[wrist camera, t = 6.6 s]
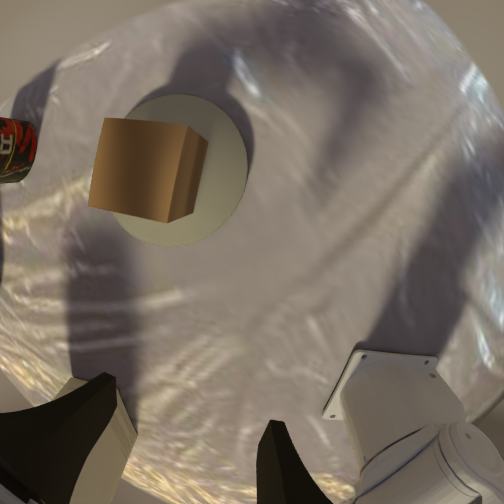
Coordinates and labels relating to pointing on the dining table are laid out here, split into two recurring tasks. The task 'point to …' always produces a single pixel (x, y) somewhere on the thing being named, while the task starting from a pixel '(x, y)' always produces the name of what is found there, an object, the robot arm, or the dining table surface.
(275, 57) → the dining table surface
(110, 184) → the walnut block
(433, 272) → the dining table surface
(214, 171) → the khaki round plate
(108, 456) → the skincare box
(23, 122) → the deodorant
